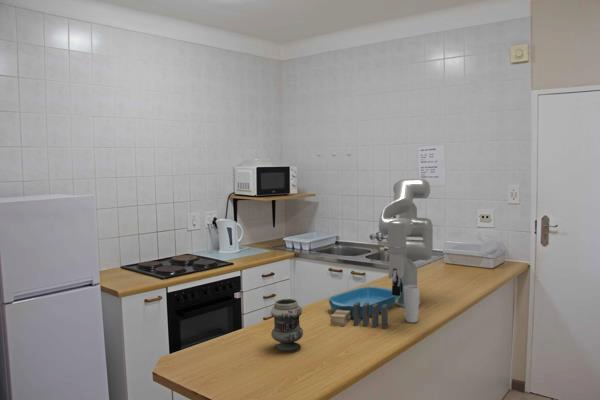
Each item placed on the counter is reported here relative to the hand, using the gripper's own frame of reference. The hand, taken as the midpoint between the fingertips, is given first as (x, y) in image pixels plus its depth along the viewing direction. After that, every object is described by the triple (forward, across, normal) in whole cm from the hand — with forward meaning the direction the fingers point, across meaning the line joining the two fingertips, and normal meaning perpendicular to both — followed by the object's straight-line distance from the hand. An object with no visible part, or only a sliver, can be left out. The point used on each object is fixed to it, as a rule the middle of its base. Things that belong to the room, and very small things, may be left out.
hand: (397, 293), depth 204 cm
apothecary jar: (+15, +35, -35) cm, 52 cm away
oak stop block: (+15, 0, -25) cm, 29 cm away
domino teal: (+2, 0, 0) cm, 2 cm away
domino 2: (+15, 0, -14) cm, 20 cm away
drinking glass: (+15, -11, +4) cm, 19 cm away
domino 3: (+15, 0, -10) cm, 18 cm away
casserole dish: (+15, -22, -20) cm, 33 cm away
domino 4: (+15, 0, -6) cm, 16 cm away
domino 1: (+15, 0, -18) cm, 23 cm away
